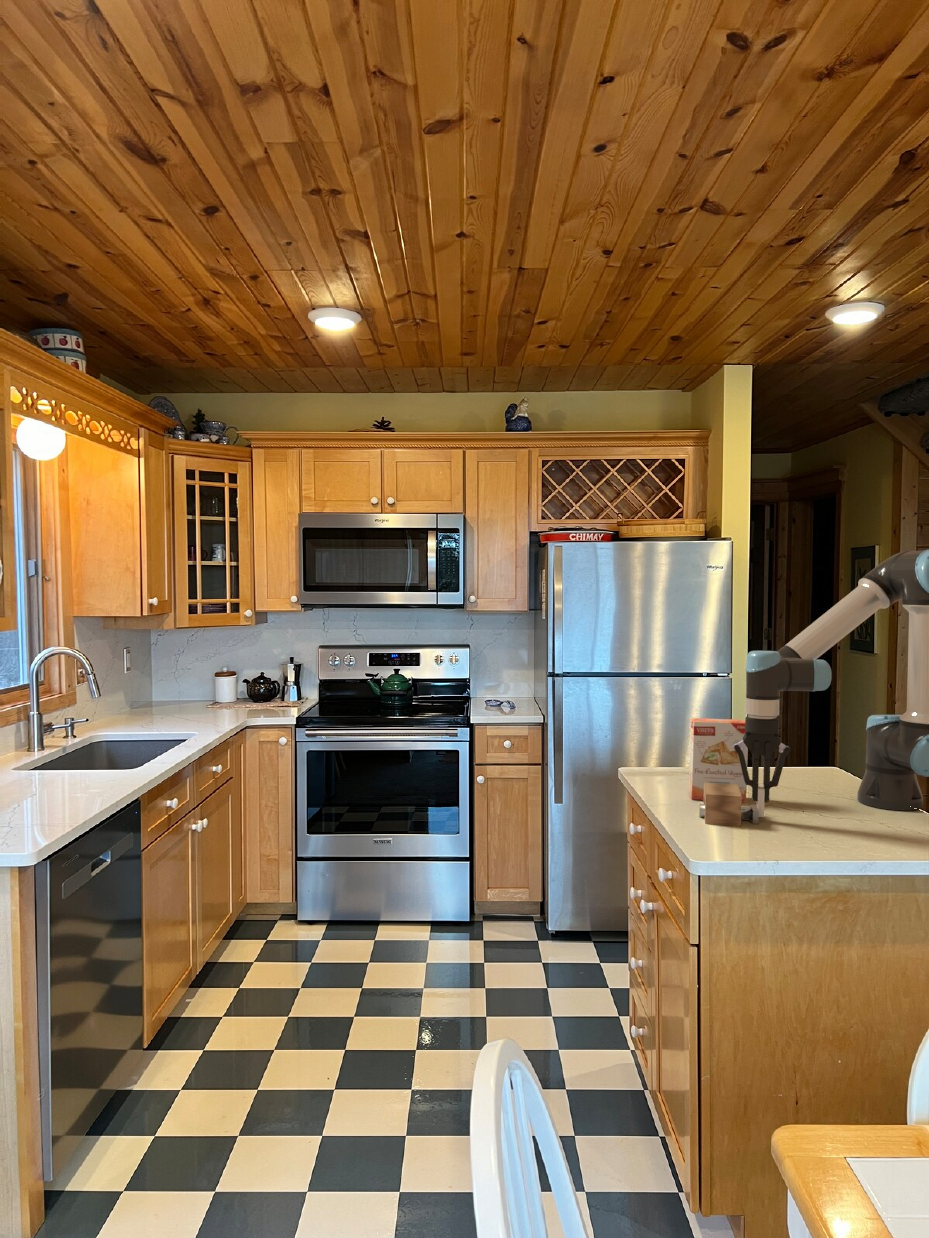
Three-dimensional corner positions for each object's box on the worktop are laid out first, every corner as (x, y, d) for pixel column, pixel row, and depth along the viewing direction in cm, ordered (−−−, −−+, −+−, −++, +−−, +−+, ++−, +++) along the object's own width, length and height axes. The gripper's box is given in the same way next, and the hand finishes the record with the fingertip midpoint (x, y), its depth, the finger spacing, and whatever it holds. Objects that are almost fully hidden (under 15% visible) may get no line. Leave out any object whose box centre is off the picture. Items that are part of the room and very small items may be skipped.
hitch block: (737, 812, 206) (737, 784, 206) (741, 826, 195) (741, 796, 194) (703, 810, 208) (703, 782, 208) (705, 823, 196) (705, 794, 196)
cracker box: (691, 800, 218) (693, 720, 217) (688, 795, 224) (689, 717, 223) (747, 802, 216) (749, 722, 215) (742, 797, 222) (744, 718, 221)
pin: (755, 817, 202) (755, 804, 202) (758, 823, 197) (758, 811, 196) (699, 813, 206) (699, 801, 205) (699, 819, 200) (700, 807, 200)
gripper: (789, 714, 200) (787, 812, 201) (732, 712, 203) (730, 808, 204) (793, 719, 193) (791, 821, 194) (734, 717, 196) (732, 817, 197)
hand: (760, 814), depth 199 cm, fingers closed
